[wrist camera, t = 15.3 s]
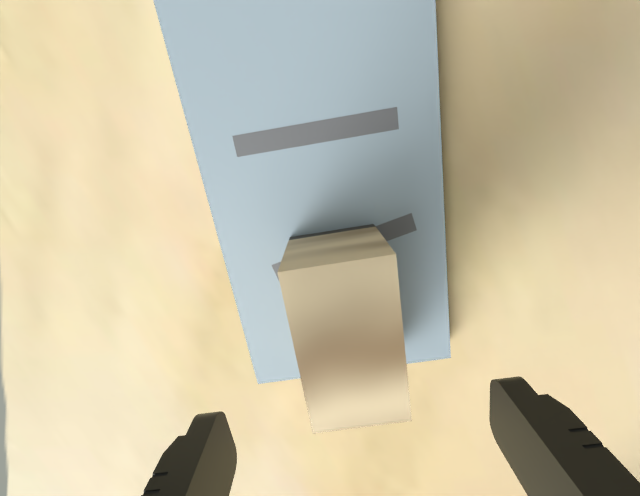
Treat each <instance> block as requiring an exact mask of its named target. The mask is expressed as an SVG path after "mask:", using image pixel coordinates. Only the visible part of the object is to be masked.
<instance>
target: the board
mask: <svg viewBox="0 0 640 496" xmlns="http://www.w3.org/2000/svg"><path fill="white" fill-rule="evenodd" d="M154 4H155V8H156V11H157V15H158V19H159V22H160V26H161V30H162V33H163V37H164V41H165V44H166V48H167V52H168V55H169V59H170V63H171V66H172V70H173V74H174V77H175V81H176V85H177V88H178V92H179V96H180V99H181V103H182V107H183V110H184V114H185V118H186V121H187V125H188V129H189V132H190V136H191V140H192V143H193V147H194V151H195V154H196V158H197V162H198V165H199V169H200V173H201V176H202V180H203V184H204V187H205V191H206V195H207V198H208V202H209V206H210V209H211V213H212V217H213V220H214V224H215V228H216V231H217V235H218V239H219V242H220V246H221V250H222V253H223V257H224V261H225V264H226V268H227V272H228V275H229V279H230V283H231V286H232V290H233V294H234V297H235V301H236V305H237V308H238V312H239V316H240V319H241V323H242V327H243V331H244V334H245V338H246V342H247V345H248V349H249V353H250V356H251V360H252V364H253V367H254V371H255V375H256V378H257V382H258V384H261V383H268V382H276V381H283V380H290V379H298V378H301V377H300V373H299V368H298V364H297V359H296V355H295V350H294V346H293V341H292V336H291V332H290V327H289V323H288V318H287V314H286V309H285V305H284V300H283V296H282V291H281V287H280V282H279V278H278V273H277V272H278V269H279V266H280V263H281V261H282V258H283V255H284V252H285V249H286V246H287V244H288V241H289V238H290V237H294V236H300V235H306V234H313V233H319V232H325V231H332V230H338V229H344V228H351V227H357V226H363V225H370V224H374V225H375V226H376V228H377V229H378V230H379V232H380V233H381V234H382V236H383V237H384V238H385V240H386V241H387V242H388V244H389V245H390V247H391V248H392V249H393V251H394V252H395V253H396V258H397V268H398V279H399V290H400V300H401V311H402V322H403V332H404V343H405V354H406V364H408V363H416V362H423V361H431V360H438V359H445V358H451V355H450V331H449V308H448V284H447V261H446V237H445V213H444V190H443V166H442V143H441V119H440V96H439V72H438V49H437V25H436V2H435V0H154Z"/></svg>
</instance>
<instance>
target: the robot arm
mask: <svg viewBox="0 0 640 496" xmlns="http://www.w3.org/2000/svg"><path fill="white" fill-rule="evenodd" d="M490 425H491V429H492V433H493V435H494V438H495V440H496V442H497V444H498V446H499V448H500V449H501V451H502V453H503V454H504V456H505V458H506V459H507V461H508V463H509V465H510V466H511V468H512V470H513V471H514V473H515V475H516V476H517V478H518V480H519V481H520V483H521V485H522V487H523V488H524V490H525V492H526V493H527V495H528V496H640V483H639V482H638V481H637V479H636V478H635V477H634V476H633V475H632V474H631V473H630V472H629V471H628V470H627V469H626V468H625V467H624V466H623V465H622V464H621V463H620V461H619V460H618V459H617V458H616V457H615V456H614V455H613V454H612V453H611V452H610V451H609V450H608V449H607V448H606V447H605V448H604V447H603V445H602V442H601V441H600V440H599V439H598V438H597V437H596V436H595V435H594V434H593V433H592V432H591V431H588V429H587V427H586V426H585V424H584V423H583V422H582V421H581V420H580V419H579V418H578V417H577V416H576V415H575V414H574V413H573V412H572V411H571V410H570V409H569V408H568V407H566V406H565V405H563V404H562V403H560V402H559V401H557V400H555V399H554V398H552V397H551V396H549V395H548V394H545V395H538V394H537V393H536V392H535V391H534V390H533V389H532V387H531V386H530V385H529V384H528V383H527V382H526V381H525V380H524V379H523V378H522V377H511V378H503V379H495V380H492V381H491V383H490ZM236 463H237V453H236V447H235V443H234V440H233V437H232V434H231V431H230V428H229V425H228V422H227V419H226V416H225V414H224V413H223V412H213V413H205V414H198V415H196V416H195V417H194V419H193V421H192V423H191V425H190V427H189V429H188V431H187V434H186V435H185V436H178V437H177V438H176V439H175V441H174V442H173V443H172V444H171V445H170V446H169V447H168V449H167V450H166V451H165V452H164V453H163V455H162V457H161V458H160V460H159V462H158V464H157V466H156V468H155V470H154V472H153V476H152V478H150V480H149V482H148V484H147V486H146V487H145V489H144V494H143V495H141V496H229V493H230V489H231V485H232V482H233V478H234V474H235V470H236Z"/></svg>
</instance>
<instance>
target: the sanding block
mask: <svg viewBox="0 0 640 496" xmlns="http://www.w3.org/2000/svg"><path fill="white" fill-rule="evenodd" d="M277 273H278V278H279V282H280V287H281V291H282V296H283V300H284V305H285V309H286V314H287V318H288V323H289V327H290V332H291V336H292V341H293V346H294V350H295V355H296V359H297V364H298V368H299V373H300V377H301V382H302V386H303V391H304V395H305V400H306V404H307V409H308V413H309V418H310V423H311V427H312V432H313V433H321V432H328V431H336V430H344V429H352V428H360V427H368V426H376V425H384V424H392V423H400V422H407V421H412V418H411V407H410V396H409V386H408V375H407V364H406V354H405V343H404V332H403V322H402V311H401V300H400V290H399V279H398V268H397V258H396V253H395V252H394V251H393V249H392V248H391V247H390V245H389V244H388V242H387V241H386V240H385V238H384V237H383V236H382V234H381V233H380V232H379V230H378V229H377V228H376V226H375V225H374V224H370V225H363V226H357V227H351V228H344V229H338V230H332V231H325V232H319V233H313V234H306V235H300V236H294V237H290V238H289V241H288V244H287V246H286V249H285V252H284V255H283V258H282V261H281V263H280V266H279V269H278V272H277Z"/></svg>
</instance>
